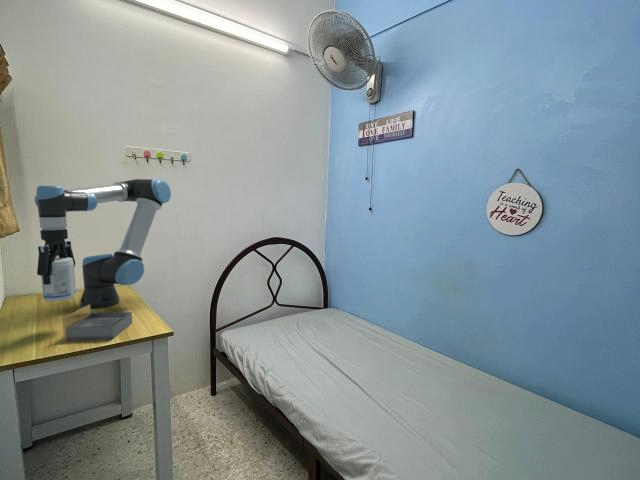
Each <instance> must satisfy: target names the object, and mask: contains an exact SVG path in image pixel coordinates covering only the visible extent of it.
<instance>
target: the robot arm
mask: <svg viewBox="0 0 640 480" xmlns="http://www.w3.org/2000/svg"><path fill="white" fill-rule="evenodd" d="M171 196H172V193H171V188H170V186H169V185H168V183H167V182H166V181H165V180H162V179H159V178H158V179H157V178H151V179H150V178H149V179H146V178H136V179H135V178H134V179H130V180H123V181H119V182H114V183H113V184H109V185H108V184H107V185H100V186H88V187H82V188H81V187H79V188H78V187H77V188H71V189H65V188H64V187H63V186H61V185H38V186H37V187H36V194H35V197H34V204H35V205H36V207H37V210H38V219H39V220H38V222H39V228H40V239H41V240H42V241H43V242H44V245H43V246H41V245H40V246H39V245H38V247H37V250H38V259H37V267H36V268H37V269H36V270H37V271H36V275H37V276H41V275H42V276H43V282H44V289H45V293H54V292H55V289H54V279H53V275H51V272H52V262H54V261H55V258H72V259H73V264H74V268H75V267H76V260H75V256H74V253H73V249H72V242H71V241H69V240H68V241H67V239H68V238H69V236H68V229H67V227H68V224H67V221H68V220H67V213H69V212H87V211H88V212H89V211H90V212H91V211H93V210H95V209H96V208H97V206H98V204H103V203H108V202H109V203H110V202H120V203H123V202H136V204H137V205H136V207H135V209H134V213H133V216H132V218H131V220H130V223H129V226H128V228H127V230H126V233H125V236H124V238H123V241H122V243H121V246H120V248H119V249H117V250H116V251H114V253H113V254H112V253H105V254H96V255H91V256H86V257H84V258H83V259H82V265H81V267H82V278H83V291H82V295H81V298H80V303H79V306H80V308H83V307H84V306H86V305H90V309H101V308H106V307H110V306H114V305H116V304H118V303H119V302H120V295H119V293H118V291H117V289H116V287H115V285H120V286H131V285H134V284H136V283H138V282H139V281H140V280H141V279H142V277H143V276H144V273H145V265H144V263H143V258H142V256H141V254H142V251H143V248H144V245H145V243H146V240H147V237H148V235H149V232H150V230H151V226H152V225H153V221H154V218H155V215H156V213H157V211H159V210H161V209H162V206H163V204H166V203H168V202H169V201H170V200H171ZM47 271H48V272H47Z"/></svg>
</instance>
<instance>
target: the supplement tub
mask: <svg viewBox="0 0 640 480" xmlns="http://www.w3.org/2000/svg"><path fill="white" fill-rule="evenodd" d="M47 272H48V271H47ZM51 275H53V279H54V289H55V292H54V293H45V289H44V282H43V276H42V275H40V277H41V286H42V295H43V299H44V301H45V302H49V303H50V302H61V301H67V300H70V299H73V298H74V297H76V296H77V287H76V284H77V283H76V276H75V267H74V264H73V259H72V258H59V257H55V261H54V262H52V272H51Z"/></svg>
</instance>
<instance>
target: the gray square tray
mask: <svg viewBox="0 0 640 480" xmlns="http://www.w3.org/2000/svg"><path fill="white" fill-rule="evenodd" d="M132 324H133V313H132V312H131V311H130V312H129V311H128V312H92V311H91V308H90V305H86V306H84V307H83V308H82V307H80V308H79V309H77V310H75V311H74V312H72V313H70V314H68V315H66V316H64V317H63V318H62V331H63V332H62V334H63V341H65V342H67V341H92V340H93V341H97V340H98V341H99V340H114V339H115V338H116V337H118V336H119V335H120V334H122V332H124V331H125V330H127V328H128V327H129V326H131V325H132Z"/></svg>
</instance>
